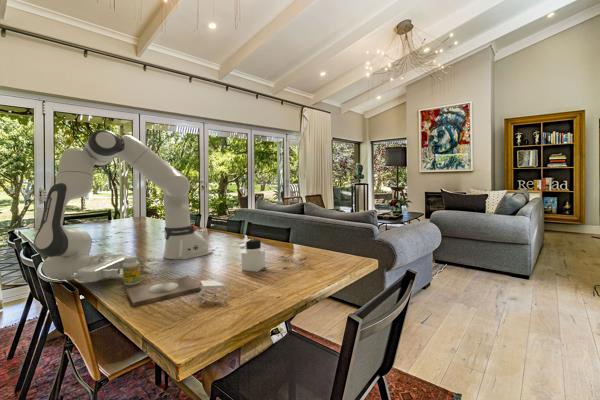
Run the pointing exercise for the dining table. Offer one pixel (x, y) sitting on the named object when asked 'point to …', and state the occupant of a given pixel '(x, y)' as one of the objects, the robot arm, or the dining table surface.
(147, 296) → the walnut board
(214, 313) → the dining table surface
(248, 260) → the medicine bottle
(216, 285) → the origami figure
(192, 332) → the dining table surface
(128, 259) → the supplement bottle
